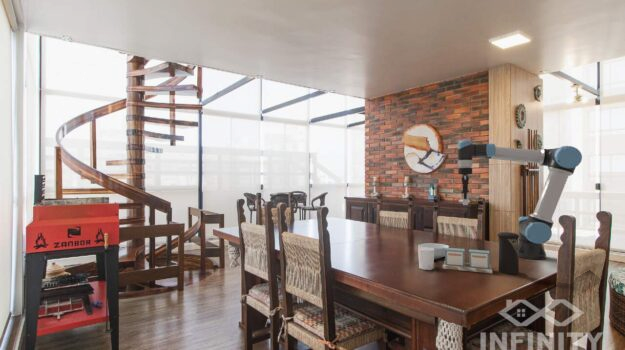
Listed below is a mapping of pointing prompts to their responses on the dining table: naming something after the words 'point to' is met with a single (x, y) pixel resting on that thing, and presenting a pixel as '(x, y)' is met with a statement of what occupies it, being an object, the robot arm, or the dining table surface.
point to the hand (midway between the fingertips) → (465, 204)
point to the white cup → (426, 258)
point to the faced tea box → (479, 259)
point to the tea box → (455, 257)
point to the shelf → (467, 268)
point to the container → (508, 253)
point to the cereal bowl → (436, 249)
